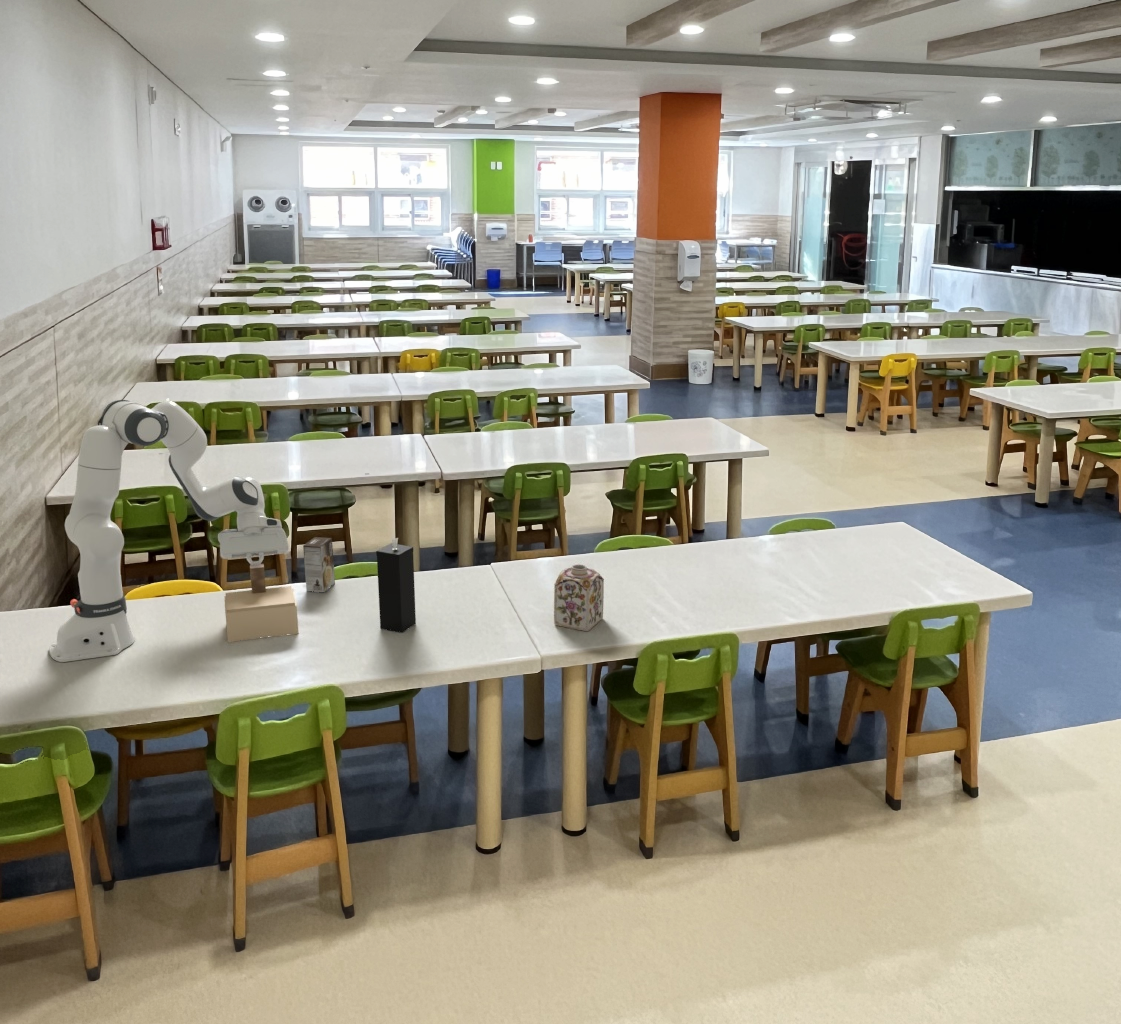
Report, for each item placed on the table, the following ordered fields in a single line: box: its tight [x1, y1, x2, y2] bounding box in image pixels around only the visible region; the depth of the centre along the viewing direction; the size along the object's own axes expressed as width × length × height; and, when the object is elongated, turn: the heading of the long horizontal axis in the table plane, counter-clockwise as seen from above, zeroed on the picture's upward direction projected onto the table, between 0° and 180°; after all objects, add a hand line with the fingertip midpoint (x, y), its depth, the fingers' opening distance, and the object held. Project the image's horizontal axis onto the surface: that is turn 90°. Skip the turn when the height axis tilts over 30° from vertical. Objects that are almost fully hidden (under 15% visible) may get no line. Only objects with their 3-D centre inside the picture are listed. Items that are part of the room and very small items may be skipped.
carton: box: [223, 588, 299, 643], centre depth 321 cm, size 20×14×9 cm
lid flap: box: [225, 563, 296, 613], centre depth 318 cm, size 19×14×9 cm
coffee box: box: [302, 536, 336, 593], centre depth 352 cm, size 9×6×16 cm
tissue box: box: [375, 537, 417, 634], centre depth 320 cm, size 8×8×28 cm
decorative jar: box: [553, 563, 605, 632], centre depth 325 cm, size 12×12×18 cm
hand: (256, 567), depth 328 cm, fingers closed
